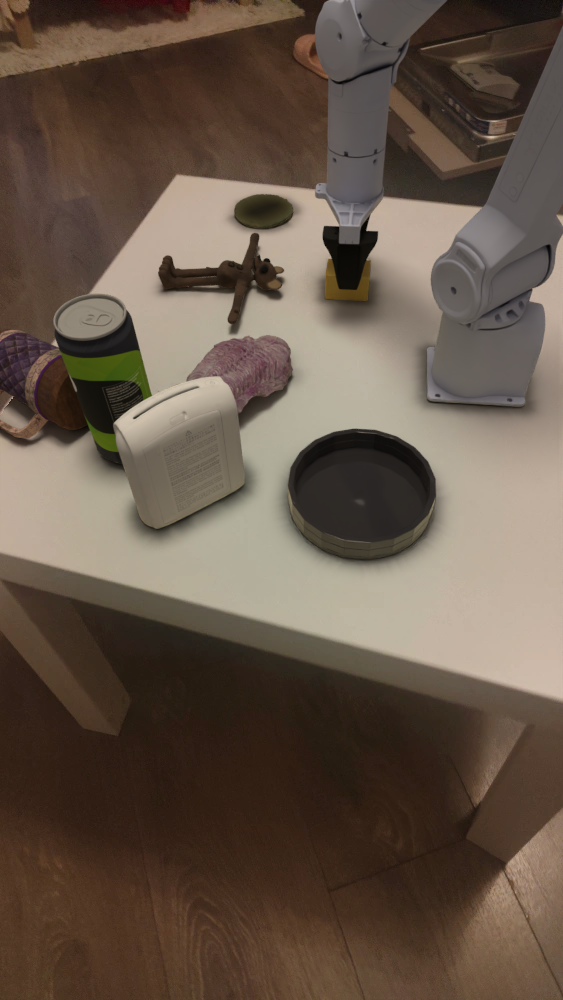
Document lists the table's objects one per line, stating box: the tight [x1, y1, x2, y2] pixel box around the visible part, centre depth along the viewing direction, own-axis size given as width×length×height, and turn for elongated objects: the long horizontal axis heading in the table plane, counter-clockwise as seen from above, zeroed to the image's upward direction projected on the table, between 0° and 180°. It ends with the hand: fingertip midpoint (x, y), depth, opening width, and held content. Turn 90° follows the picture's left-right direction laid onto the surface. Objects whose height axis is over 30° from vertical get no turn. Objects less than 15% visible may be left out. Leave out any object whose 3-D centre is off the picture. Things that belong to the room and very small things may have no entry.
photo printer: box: [113, 376, 246, 530], centre depth 55 cm, size 10×4×12 cm, turn 123°
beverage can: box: [52, 292, 153, 465], centre depth 58 cm, size 6×6×15 cm
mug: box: [0, 328, 88, 439], centre depth 65 cm, size 10×7×12 cm
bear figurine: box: [157, 232, 285, 325], centre depth 78 cm, size 18×4×14 cm
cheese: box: [324, 258, 372, 302], centre depth 76 cm, size 5×3×3 cm
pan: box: [287, 428, 437, 561], centre depth 58 cm, size 13×13×3 cm
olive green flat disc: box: [233, 193, 294, 229], centre depth 89 cm, size 8×8×1 cm
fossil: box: [185, 334, 294, 415], centre depth 66 cm, size 8×14×5 cm, turn 144°
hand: (350, 268), depth 75 cm, fingers open, 7 cm apart
